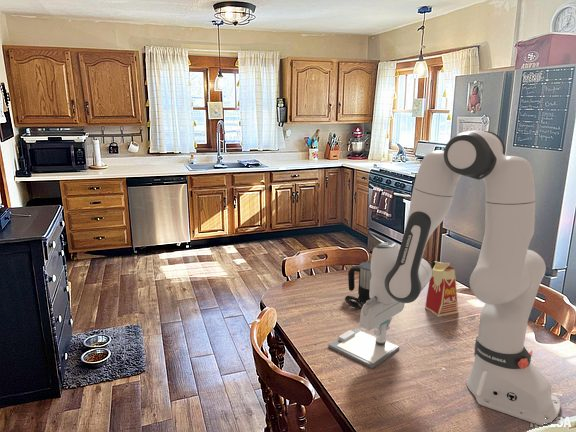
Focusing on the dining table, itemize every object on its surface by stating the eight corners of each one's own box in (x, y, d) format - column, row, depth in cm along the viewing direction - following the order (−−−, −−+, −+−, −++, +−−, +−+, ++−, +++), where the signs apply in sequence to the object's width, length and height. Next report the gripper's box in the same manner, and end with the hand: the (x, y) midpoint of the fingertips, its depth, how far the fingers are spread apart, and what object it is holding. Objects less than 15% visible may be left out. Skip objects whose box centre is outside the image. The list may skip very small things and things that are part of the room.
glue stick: (387, 342, 140) (389, 318, 137) (381, 346, 137) (383, 322, 135) (379, 339, 142) (380, 315, 140) (373, 342, 140) (374, 318, 137)
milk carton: (458, 312, 163) (463, 263, 158) (438, 317, 160) (443, 266, 155) (441, 303, 171) (445, 255, 166) (422, 307, 168) (426, 258, 163)
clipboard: (399, 349, 139) (399, 343, 138) (372, 368, 129) (372, 362, 128) (356, 330, 151) (356, 324, 150) (328, 347, 140) (328, 341, 140)
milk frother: (381, 295, 178) (383, 262, 175) (381, 313, 163) (383, 276, 160) (346, 293, 181) (347, 260, 177) (344, 310, 166) (345, 274, 162)
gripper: (373, 306, 126) (370, 348, 129) (409, 285, 140) (406, 324, 143) (355, 299, 130) (353, 340, 134) (392, 280, 144) (390, 318, 148)
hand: (381, 332), depth 138 cm, fingers closed on glue stick, 3 cm apart
